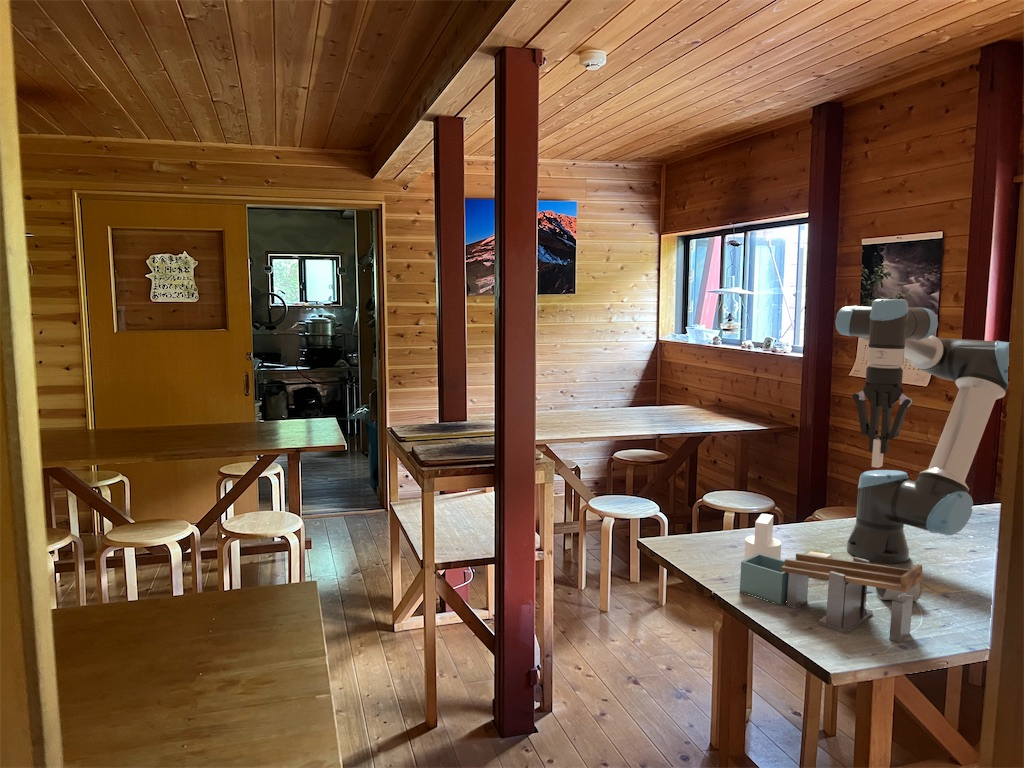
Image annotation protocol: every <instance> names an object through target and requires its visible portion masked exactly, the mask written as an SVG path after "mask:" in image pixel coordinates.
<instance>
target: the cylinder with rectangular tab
mask: <svg viewBox="0 0 1024 768" xmlns="http://www.w3.org/2000/svg"><path fill="white" fill-rule="evenodd" d="M754 525H755V526H754V535H748V536H746V537H745V539H744V540H745V542H744V555H743V556H744V557H743V559H744V560H746V559H748V558H750V557H752V556H754V555H756V554H758V553H759V554H762V555H766V556H769V557H773V558H776V559H780V560H781V558H782V557H781V556H782V541H781V540H780V539H778V538H776V537H773V531H774V529H773V528H774V514H773V515H772V514H768V513H761V514H760V515H759V517H757V519H756V520H755V523H754ZM744 560H743V561H744Z"/></svg>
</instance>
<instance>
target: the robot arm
mask: <svg viewBox="0 0 1024 768" xmlns="http://www.w3.org/2000/svg"><path fill="white" fill-rule="evenodd" d="M938 320H939V319H938V317H937V314H936V313H935V312H934V311H932V310H931V309H930V308H927V307H926V308H925V307H921V306H920V307H919V306H916V307H909V303H908V301H907V300H906V299H899V298H898V299H896V298H894V299H893V298H892V299H891V298H877V299H874V300H873V301H872V303H871V306H865V305H864V306H862V305H861V306H860V305H859V306H858V305H849V306H847V305H846V306H844V307H843V306H842V308H840V309H839V311H838V312H837V313H836V317H835V328H836V331H837V332H838V334H839V335H842V336H848V337H856V338H857V337H858V338H860V339H862V340H865V341H867V342H868V348H867V358H866V363H867V364H868V366H867V367H866V370H865V384H864V386H863V389H862V390H861V391H859V392H857V393H853V394H852V398H853V400H854V403H855V404H856V411H857V417H858V421H859V422H858V423H859V429H860V433H861V434H862V435H864V436H865V437H866V436H867V437H868V439H869V442H868V451H869V452H871V453H872V454H871V467H872V468H876V469H873V470H866V471H864V472H862V473H861V474H860V476H859V478H858V479H859V480H858V486H857V490H858V491H857V501H856V516H855V517H856V518H855V524H854V526H853V528H852V531H851V532H850V535H849V536H848V539H847V543H846V550H847V552H848V553H849V554H851V555H852V556H853V557H858V558H861V559H865V560H869V562H874V563H882V564H901V563H905V562H907V561H908V560H909V558H910V557H909V556H910V555H909V554H910V549H909V546H908V542H907V538H906V535H905V531H904V527H905V526H904V525H906V526H910V527H914V528H916V529H920V530H924V531H928V532H930V533H932V534H940V535H944V536H953V535H956V534H957V533H959V532H961V531H963V529H964V528H965V527H966V525H967V524H968V523H969V521H970V518H971V516H972V514H973V506H974V501H973V498H972V496H971V495H970V494H969V491H970V488H969V487H968V484H967V483H966V479H967V476H968V474H969V472H970V469H971V466H972V464H973V461H974V457H975V456H976V453H977V450H978V449H979V445H980V443H981V440H982V437H983V435H984V432H985V429H986V426H987V424H988V421H989V419H990V416H991V413H992V410H993V408H994V405H995V403H996V400H999V399H1002V398H1004V397H1005V395H1006V393H1007V390H1008V389H1009V387H1008V366H1009V343H1010V342H1008V341H1001V340H982V339H981V340H978V339H962V338H944V337H943V338H942V337H937V336H935V335H934V334H935V333H936V331H937V328H938V326H939V321H938ZM905 359H906V360H907V361H908V362H909V364H910V365H911V366H913V367H914V368H916V369H918V370H920V371H923V372H925V373H927V374H929V375H932V376H935V377H937V378H940V379H942V380H946V381H951V382H954V384H955V385H956V387H957V388H958V392H957V394H956V395H955V396H956V397H955V399H954V400H953V401H954V402H953V405H952V407H951V409H950V412H949V415H948V416H947V419H946V421H945V425H944V428H943V429H942V433H941V435H940V438H939V439H938V440H939V441H938V442H937V446H936V448H935V451H934V454H933V455H932V457H931V460H930V463H929V465H928V468H927V469H925V470H923V471H920V472H919V473H918V475H917V478H916V480H911V479H909V475H908V473H907V472H905V471H902V470H895V469H892V470H891V469H879V468H881V467H883V465H884V455H885V454H888V451H889V446H890V445H889V443H890V442H889V441H890V440H892V439H893V440H894V439H895V438H898V437H899V435H900V432H901V428H902V427H903V424H904V422H905V421H904V420H905V418H906V415H907V412H908V409H909V408H910V407H911V405H912V404H913V403H914V399H913V398H910V397H908V396H906V395H905V394H904V389H903V388H902V385H903V374H904V373H903V372H904V370H903V368H902V366H904V360H905ZM866 399H867V400H868V401H869V404H870V406H869V408H870V416H869V415H868V409H867V403H866V401H865V400H866ZM898 401H899V407H898V409H897V412H896V415H895V417H894V421H893V423H892V415H893V413H892V412H893V409H894V405H895V404H896V403H897V402H898ZM881 411H882V412H881ZM869 417H870V419H869ZM880 417H881V425H880ZM880 426H881V429H880ZM879 429H880V434H879ZM879 436H880V437H879ZM877 468H878V469H877Z"/></svg>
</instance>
